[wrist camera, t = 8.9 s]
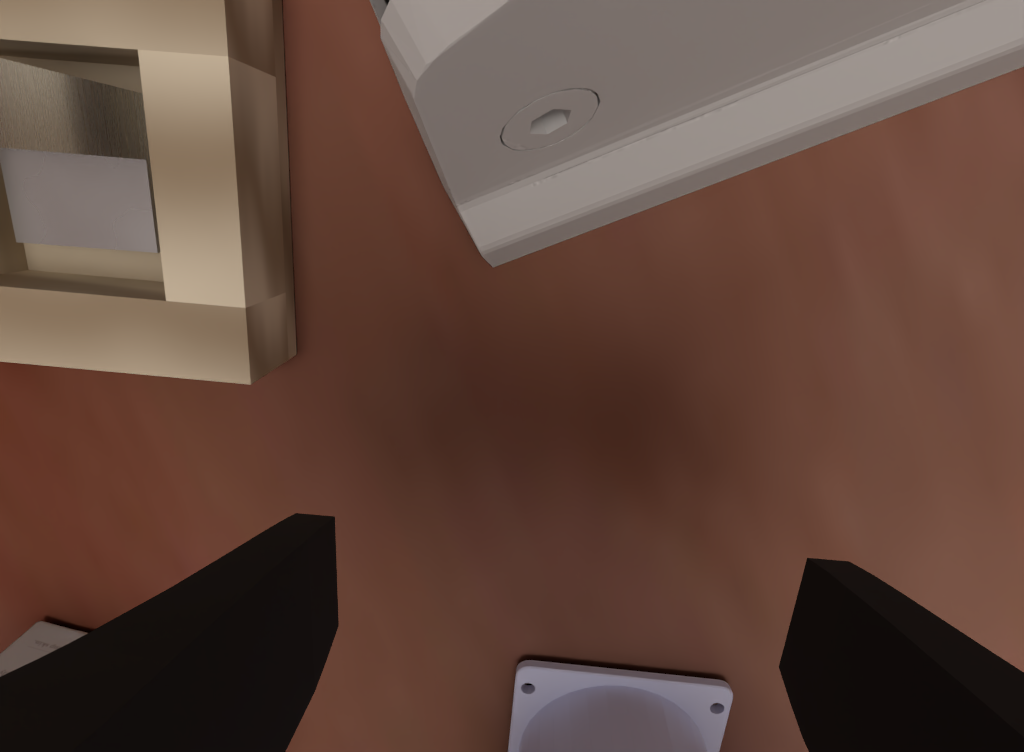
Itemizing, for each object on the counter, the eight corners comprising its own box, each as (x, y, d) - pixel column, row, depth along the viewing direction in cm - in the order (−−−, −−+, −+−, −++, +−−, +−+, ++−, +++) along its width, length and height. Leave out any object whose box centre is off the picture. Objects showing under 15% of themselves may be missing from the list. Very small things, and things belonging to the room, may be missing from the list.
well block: (296, 354, 18) (250, 384, 15) (-7, 327, 18) (-107, 351, 16) (281, -7, 15) (220, -53, 12) (-83, -33, 15) (-226, -85, 12)
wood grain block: (25, 89, 16) (-316, 22, 9) (167, 99, 15) (-84, 36, 9) (52, 238, 17) (-234, 265, 11) (183, 248, 17) (-28, 281, 11)
